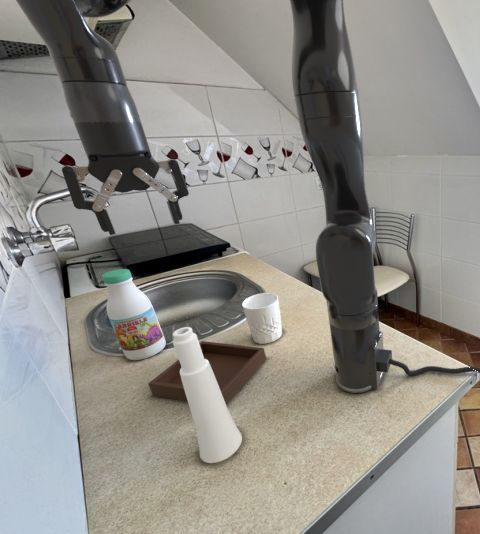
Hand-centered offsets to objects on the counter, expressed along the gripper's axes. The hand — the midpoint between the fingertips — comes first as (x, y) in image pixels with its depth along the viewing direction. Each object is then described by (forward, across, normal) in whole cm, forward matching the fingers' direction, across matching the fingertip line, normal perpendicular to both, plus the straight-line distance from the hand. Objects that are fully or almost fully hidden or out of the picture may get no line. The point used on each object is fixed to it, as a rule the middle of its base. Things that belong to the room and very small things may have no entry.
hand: (146, 228), depth 53 cm
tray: (+32, +2, 0) cm, 32 cm away
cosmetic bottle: (+32, -1, -19) cm, 38 cm away
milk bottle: (+32, -7, +20) cm, 39 cm away
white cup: (+32, +16, +6) cm, 37 cm away
